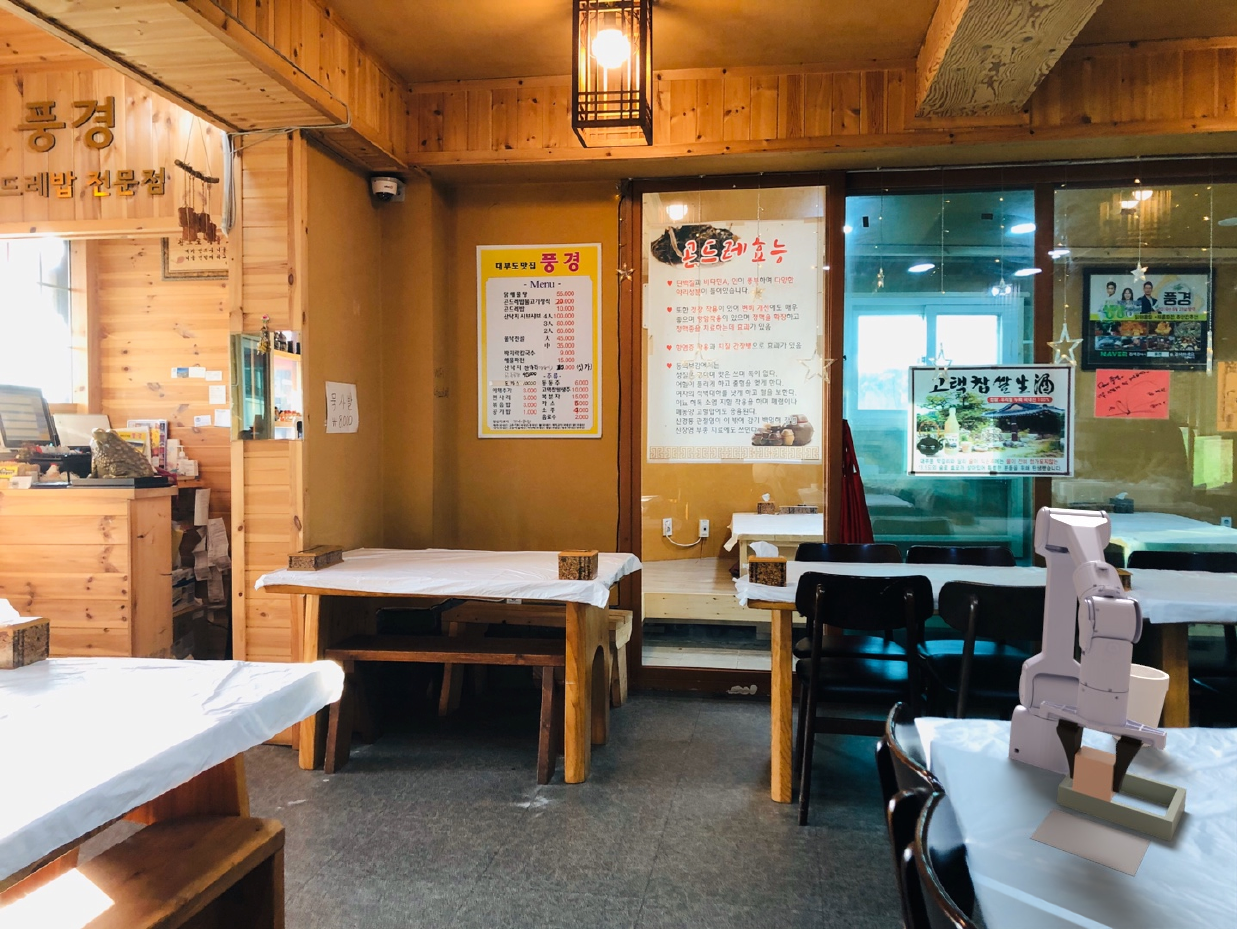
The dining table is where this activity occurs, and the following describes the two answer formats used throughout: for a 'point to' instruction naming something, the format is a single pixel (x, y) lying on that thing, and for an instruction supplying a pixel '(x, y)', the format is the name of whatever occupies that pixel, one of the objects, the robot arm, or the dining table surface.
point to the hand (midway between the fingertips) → (1095, 783)
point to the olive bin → (1128, 814)
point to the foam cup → (1146, 695)
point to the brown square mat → (1092, 841)
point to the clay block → (1094, 773)
